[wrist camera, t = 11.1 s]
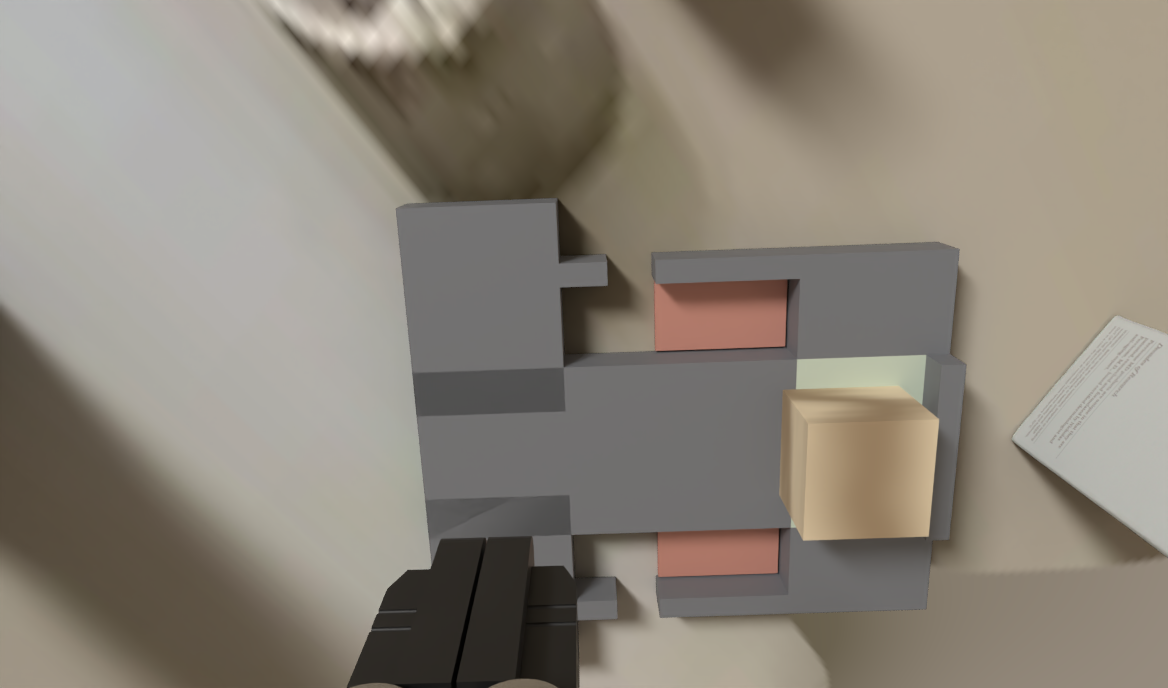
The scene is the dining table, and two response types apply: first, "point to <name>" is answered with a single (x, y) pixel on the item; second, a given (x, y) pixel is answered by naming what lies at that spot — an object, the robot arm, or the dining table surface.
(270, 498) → the dining table surface
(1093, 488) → the supplement box
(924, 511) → the block
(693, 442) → the track
